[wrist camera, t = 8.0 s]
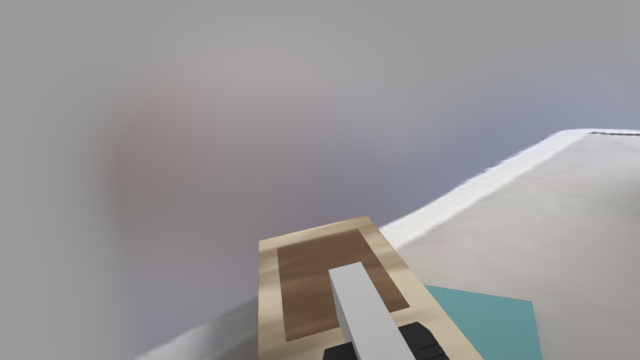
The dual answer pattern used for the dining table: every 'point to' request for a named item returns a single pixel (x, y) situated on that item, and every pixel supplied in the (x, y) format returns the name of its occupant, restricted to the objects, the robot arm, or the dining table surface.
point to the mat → (492, 323)
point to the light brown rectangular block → (317, 296)
